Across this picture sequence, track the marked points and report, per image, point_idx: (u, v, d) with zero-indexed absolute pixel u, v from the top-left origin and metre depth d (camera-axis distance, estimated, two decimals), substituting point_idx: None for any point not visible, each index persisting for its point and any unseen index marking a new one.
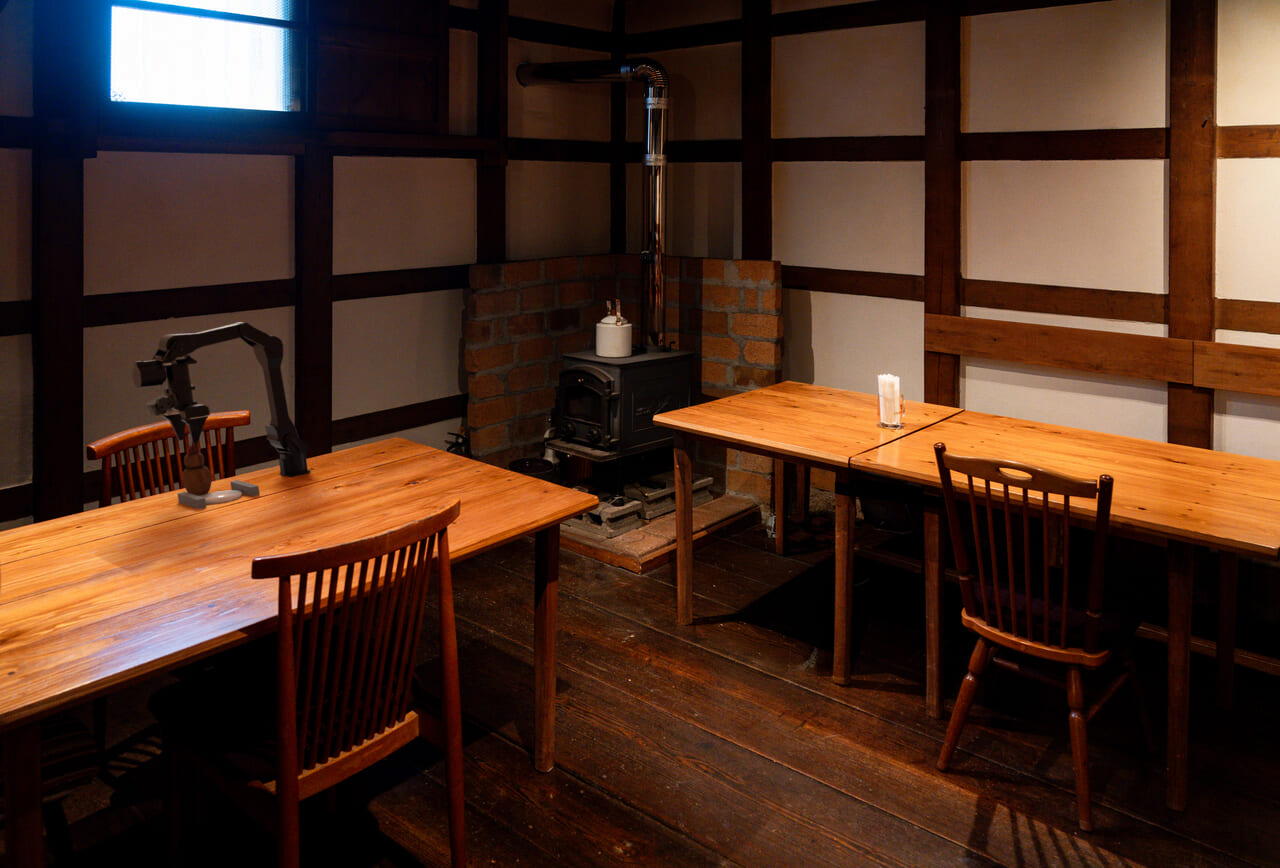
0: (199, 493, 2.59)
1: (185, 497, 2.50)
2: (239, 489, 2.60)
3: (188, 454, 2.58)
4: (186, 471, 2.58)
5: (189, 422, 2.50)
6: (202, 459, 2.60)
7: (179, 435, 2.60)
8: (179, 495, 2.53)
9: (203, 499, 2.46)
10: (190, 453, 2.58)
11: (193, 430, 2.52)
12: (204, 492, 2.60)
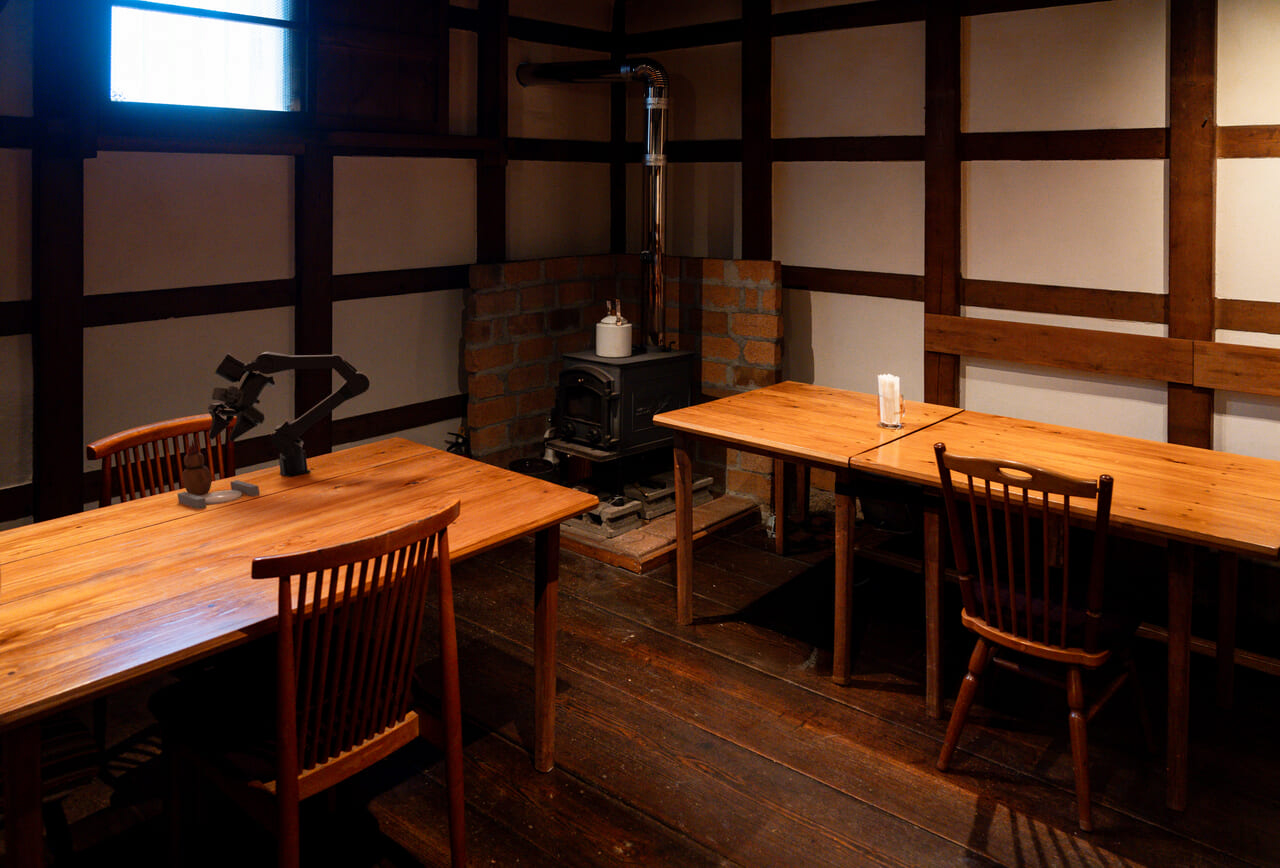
0: (199, 493, 2.59)
1: (185, 497, 2.50)
2: (239, 489, 2.60)
3: (188, 454, 2.58)
4: (186, 471, 2.58)
5: (241, 419, 2.63)
6: (202, 459, 2.60)
7: (212, 434, 2.68)
8: (179, 495, 2.53)
9: (203, 499, 2.46)
10: (190, 453, 2.58)
11: (238, 428, 2.63)
12: (204, 492, 2.60)
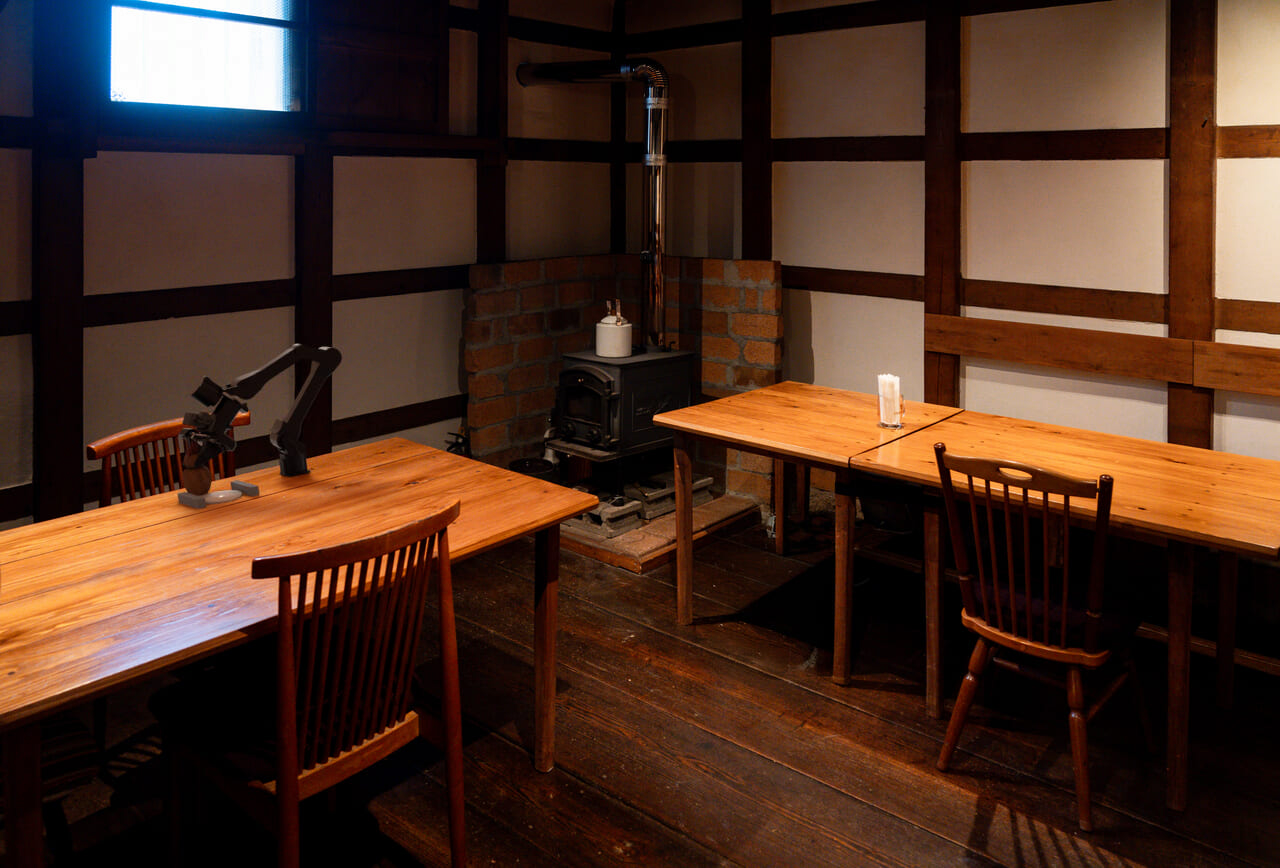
0: (199, 493, 2.59)
1: (185, 497, 2.50)
2: (239, 489, 2.60)
3: (188, 454, 2.58)
4: (186, 471, 2.58)
5: (207, 445, 2.58)
6: None
7: None
8: (179, 495, 2.53)
9: (203, 499, 2.46)
10: (190, 453, 2.58)
11: (203, 454, 2.58)
12: (204, 492, 2.60)
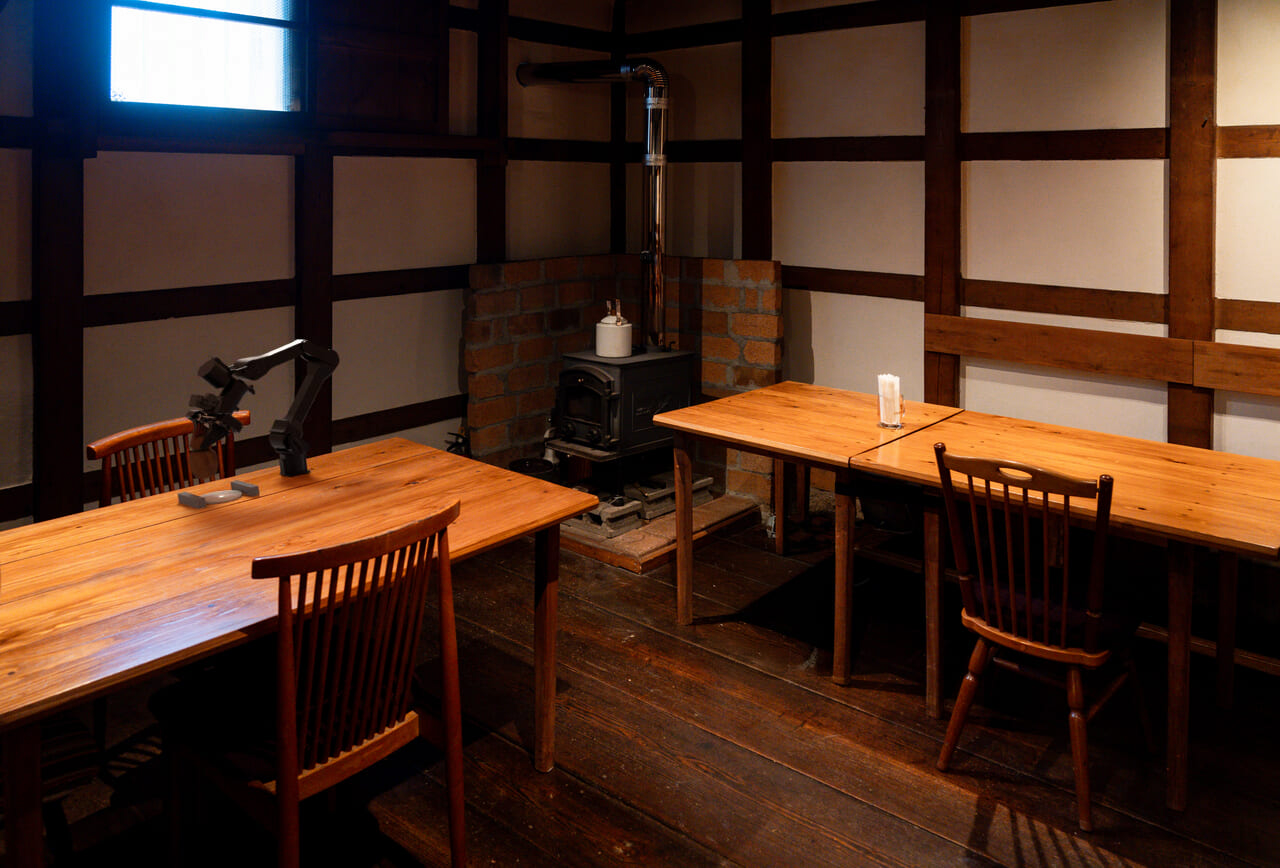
0: (205, 476, 2.56)
1: (185, 497, 2.50)
2: (239, 489, 2.60)
3: (194, 436, 2.54)
4: (192, 454, 2.54)
5: (213, 427, 2.54)
6: None
7: None
8: (179, 495, 2.53)
9: (203, 499, 2.46)
10: (196, 435, 2.54)
11: (210, 436, 2.54)
12: (210, 475, 2.57)
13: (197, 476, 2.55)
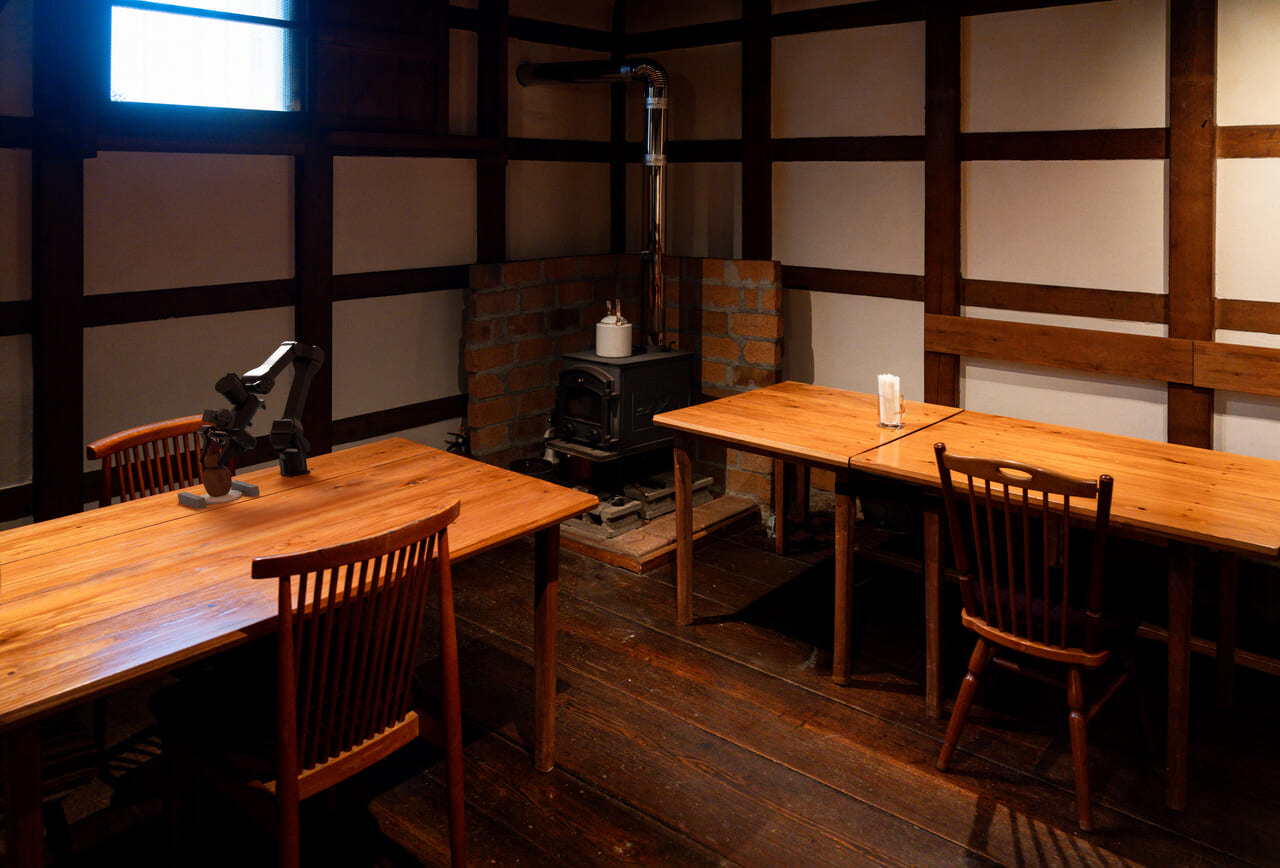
0: (219, 494, 2.53)
1: (185, 497, 2.50)
2: (239, 489, 2.60)
3: (208, 454, 2.52)
4: (206, 471, 2.52)
5: (230, 443, 2.51)
6: None
7: (203, 458, 2.55)
8: (179, 495, 2.53)
9: (203, 499, 2.46)
10: (210, 453, 2.52)
11: (226, 452, 2.51)
12: (224, 493, 2.54)
13: (211, 494, 2.53)
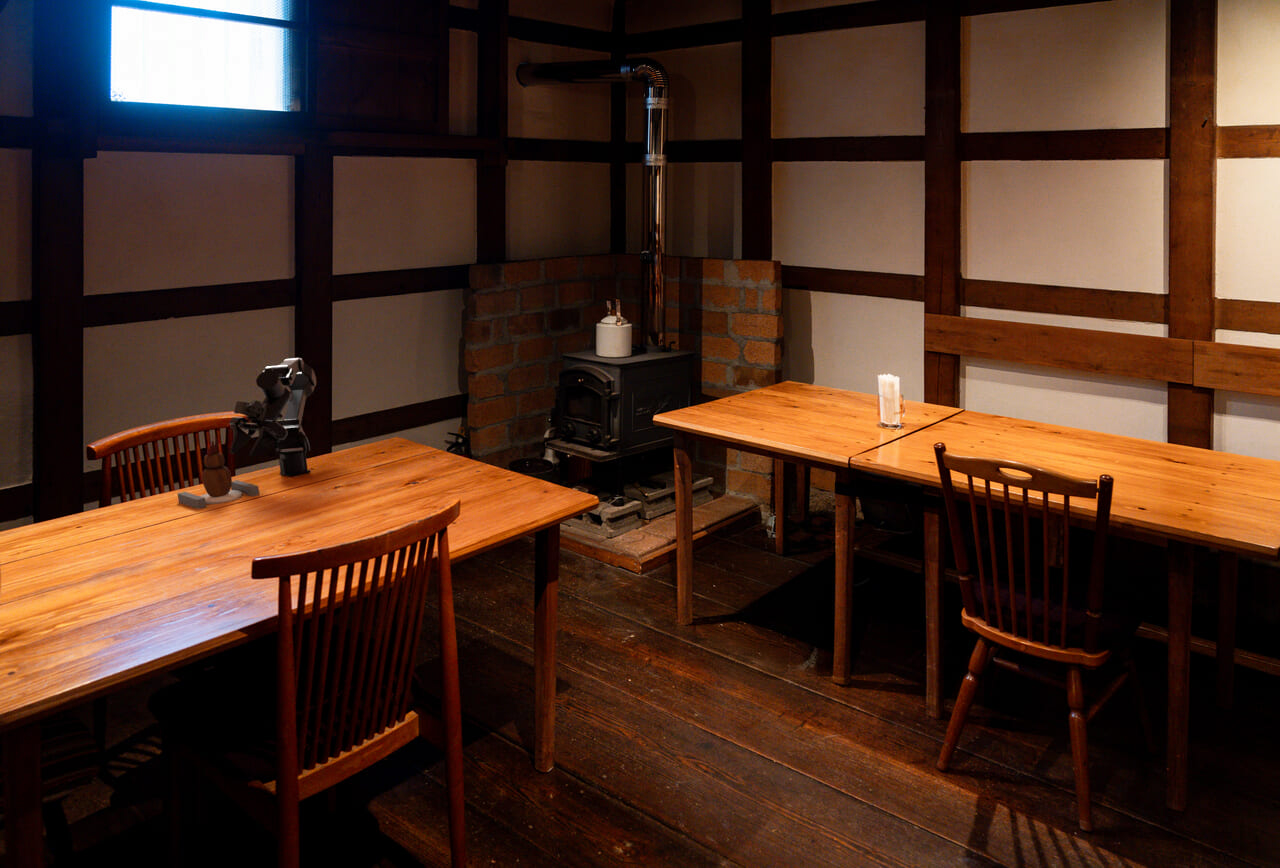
0: (219, 494, 2.53)
1: (185, 497, 2.50)
2: (239, 489, 2.60)
3: (208, 454, 2.52)
4: (206, 471, 2.52)
5: (264, 434, 2.58)
6: (222, 459, 2.54)
7: (234, 448, 2.63)
8: (179, 495, 2.53)
9: (203, 499, 2.46)
10: (210, 453, 2.52)
11: (260, 443, 2.58)
12: (224, 493, 2.54)
13: (211, 494, 2.53)
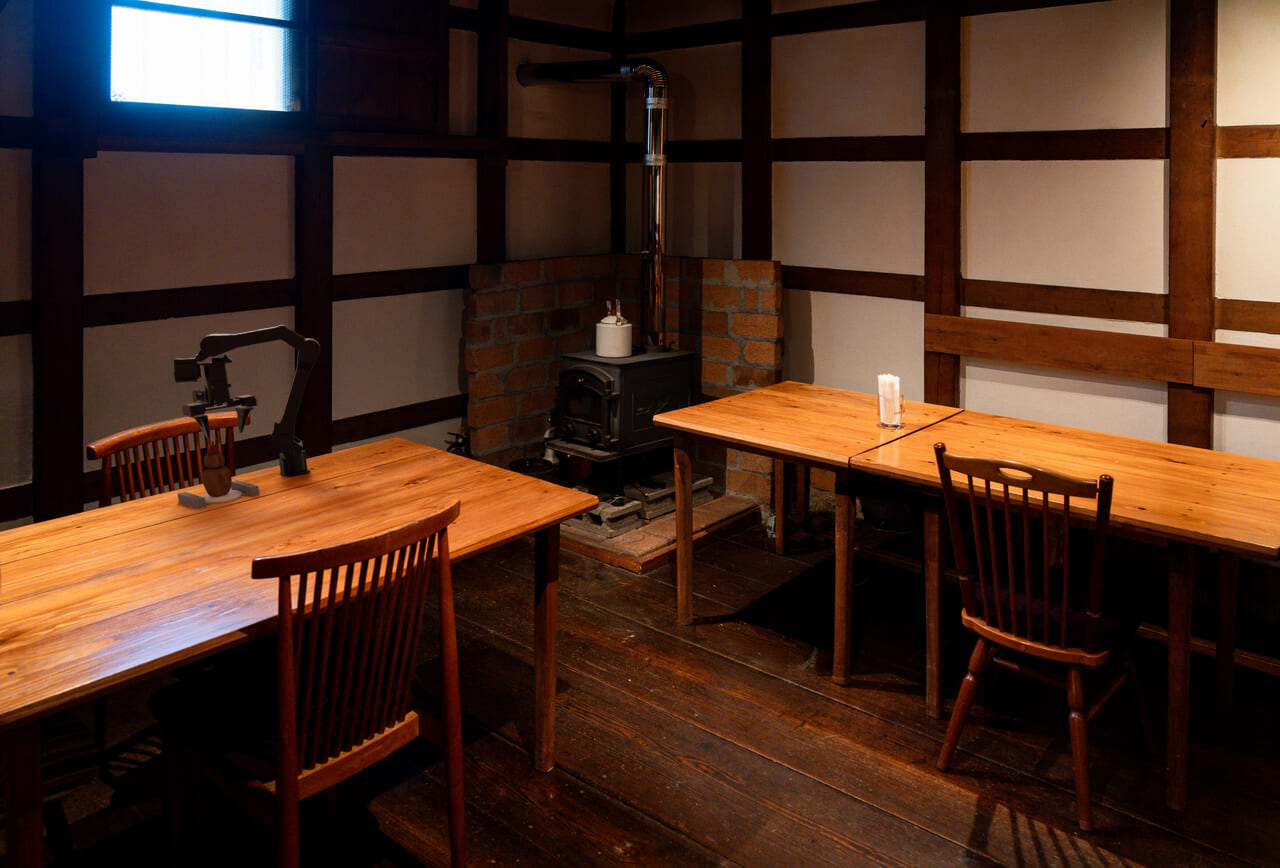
0: (219, 494, 2.53)
1: (185, 497, 2.50)
2: (239, 489, 2.60)
3: (208, 454, 2.52)
4: (206, 471, 2.52)
5: (195, 418, 2.67)
6: (222, 459, 2.54)
7: (239, 428, 2.75)
8: (179, 495, 2.53)
9: (203, 499, 2.46)
10: (210, 453, 2.52)
11: (201, 426, 2.68)
12: (224, 493, 2.54)
13: (211, 494, 2.53)
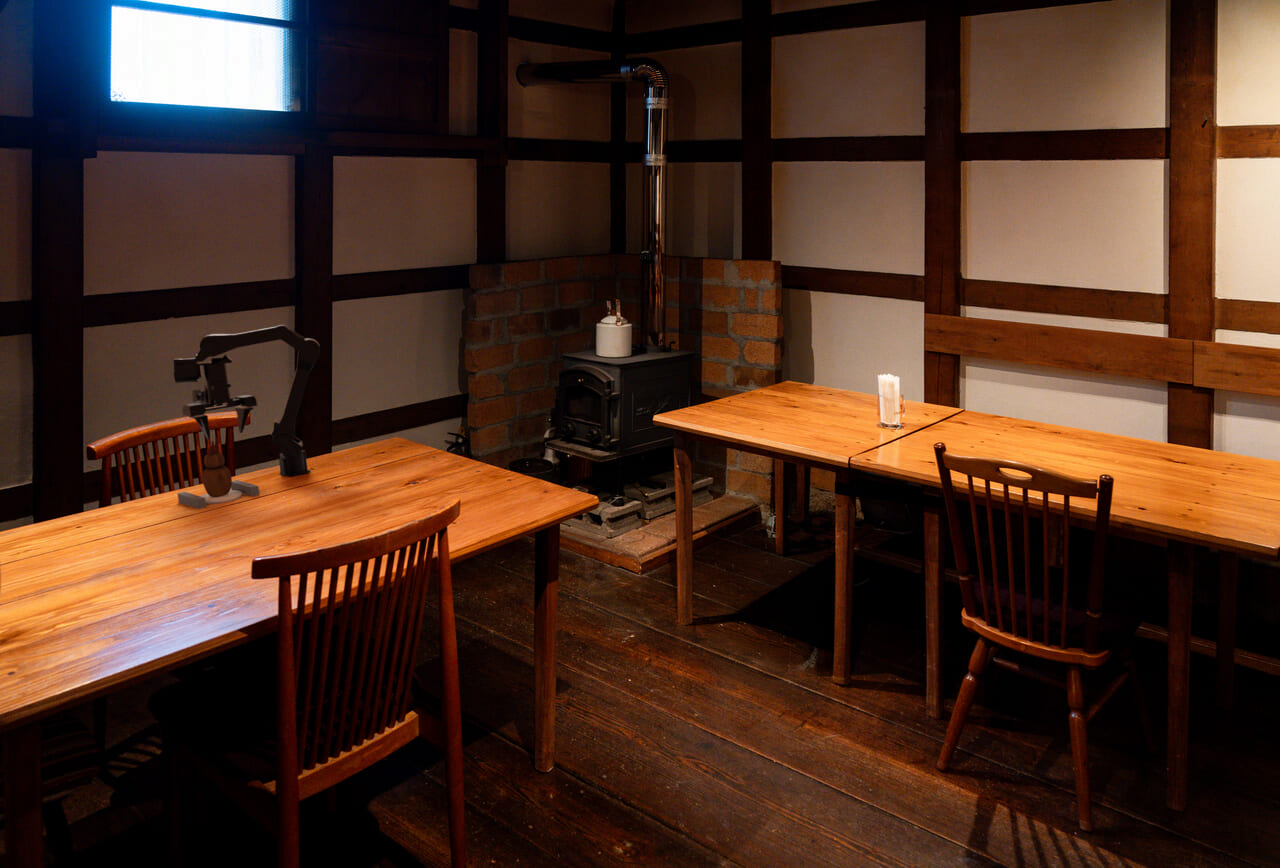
0: (219, 494, 2.53)
1: (185, 497, 2.50)
2: (239, 489, 2.60)
3: (208, 454, 2.52)
4: (206, 471, 2.52)
5: (195, 418, 2.67)
6: (222, 459, 2.54)
7: (239, 428, 2.75)
8: (179, 495, 2.53)
9: (203, 499, 2.46)
10: (210, 453, 2.52)
11: (201, 426, 2.68)
12: (224, 493, 2.54)
13: (211, 494, 2.53)
